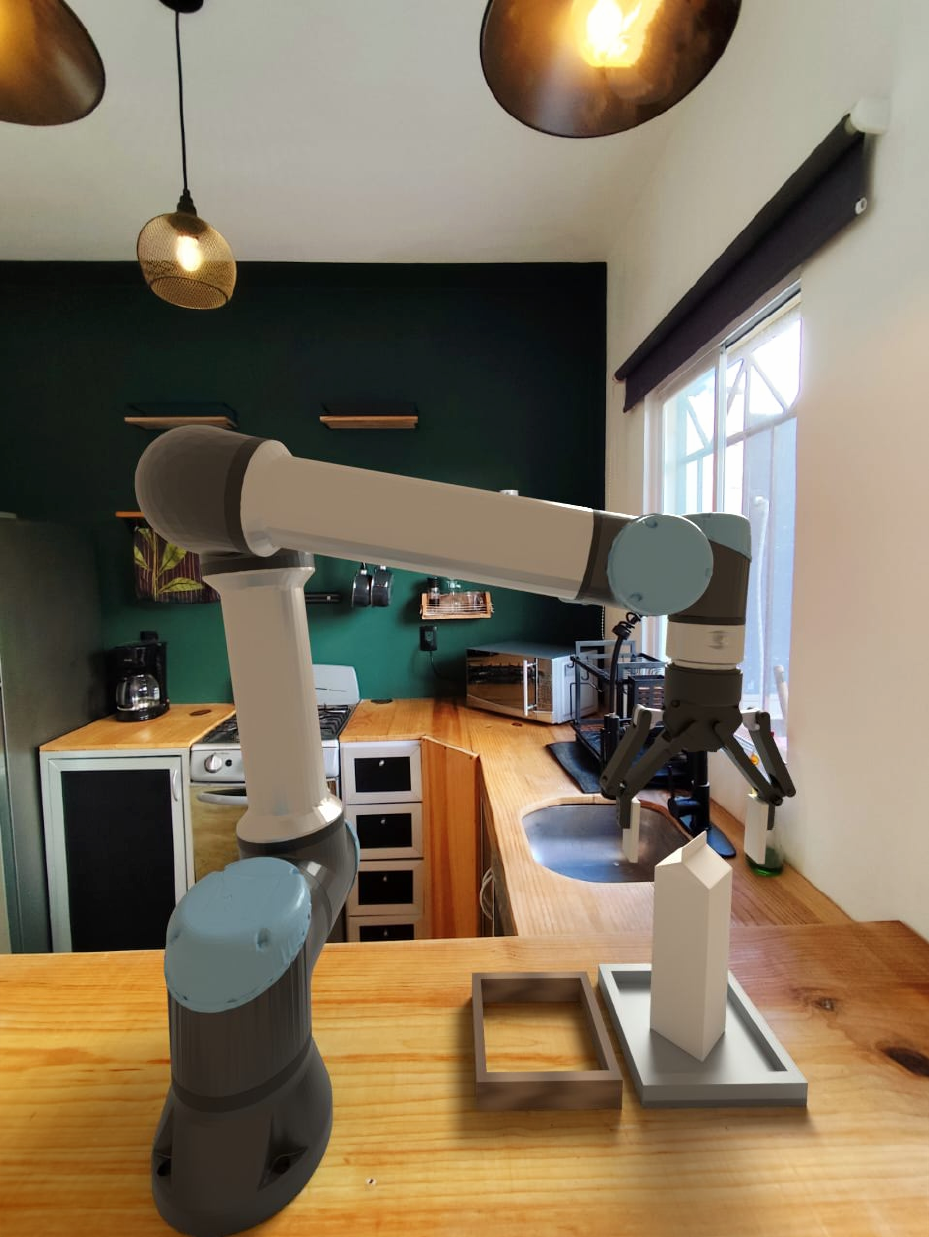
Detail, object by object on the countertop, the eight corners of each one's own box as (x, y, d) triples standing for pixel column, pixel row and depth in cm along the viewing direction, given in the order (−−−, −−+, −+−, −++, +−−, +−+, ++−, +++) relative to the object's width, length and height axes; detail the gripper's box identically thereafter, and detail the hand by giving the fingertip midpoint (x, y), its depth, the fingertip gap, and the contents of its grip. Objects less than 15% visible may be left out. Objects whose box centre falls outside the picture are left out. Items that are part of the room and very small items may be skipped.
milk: (725, 1030, 59) (736, 840, 57) (702, 1064, 55) (712, 860, 53) (672, 998, 64) (681, 820, 62) (647, 1027, 59) (655, 837, 58)
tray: (642, 1108, 51) (643, 1085, 51) (598, 981, 67) (598, 963, 67) (806, 1105, 52) (808, 1082, 51) (723, 980, 67) (724, 962, 67)
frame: (476, 1111, 51) (476, 1082, 51) (471, 995, 65) (472, 972, 65) (622, 1108, 51) (622, 1079, 51) (586, 994, 65) (586, 971, 65)
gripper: (594, 666, 52) (586, 874, 54) (846, 671, 52) (829, 877, 54) (577, 655, 59) (569, 838, 61) (797, 659, 60) (784, 840, 62)
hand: (691, 856), depth 58 cm, fingers open, 13 cm apart
